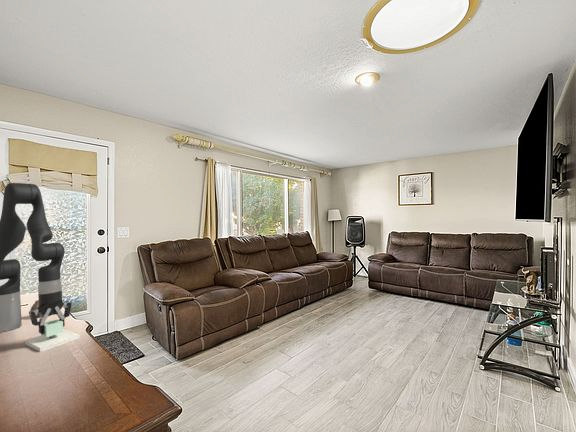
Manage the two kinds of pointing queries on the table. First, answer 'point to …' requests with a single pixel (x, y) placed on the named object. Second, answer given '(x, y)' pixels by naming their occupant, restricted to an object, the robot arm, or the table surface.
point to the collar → (53, 328)
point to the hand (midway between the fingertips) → (52, 330)
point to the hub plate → (51, 340)
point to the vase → (35, 306)
